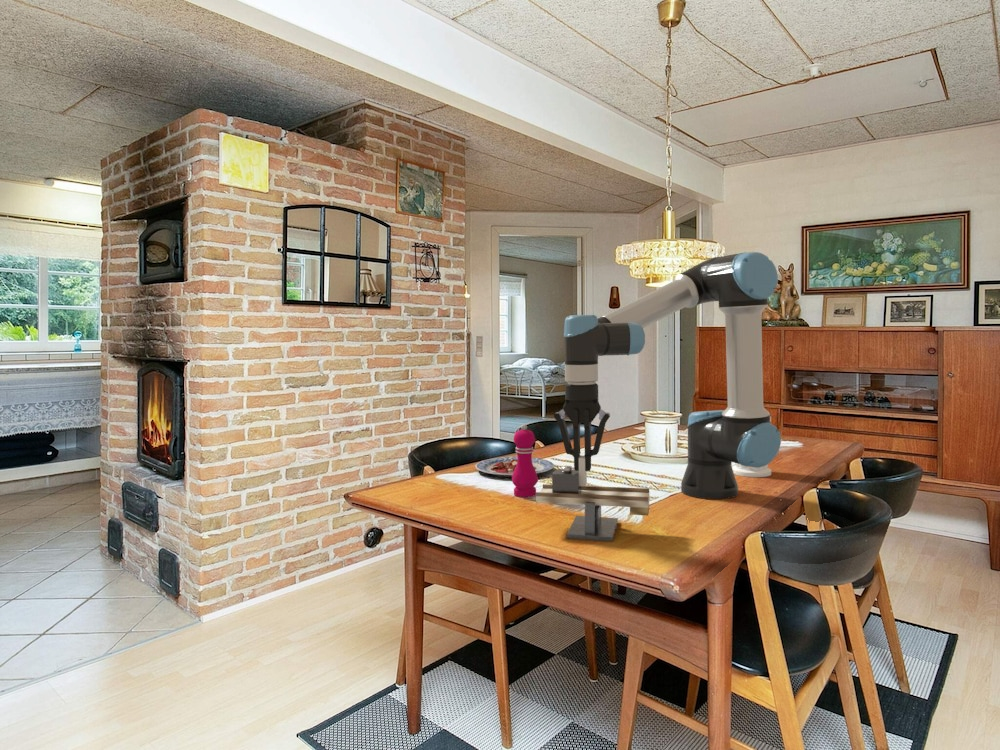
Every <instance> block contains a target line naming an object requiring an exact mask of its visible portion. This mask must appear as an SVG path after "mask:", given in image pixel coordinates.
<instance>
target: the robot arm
mask: <svg viewBox="0 0 1000 750" xmlns="http://www.w3.org/2000/svg"><path fill="white" fill-rule="evenodd" d="M778 283H779V275H778V270H777V267H776V266H775V264H774V262H773V261H772V260H770V259H769V257H768V256H767V255H765V254H764V253H762V252H756V251H751V252H750V251H749V252H746V251H744V252H740V253H735V254H729V255H728V254H727V255H723V256H716V257H711V258H708V259H706V260H704V261H702V262H700V263H698V264H696V265H694V266H692V267H690V268H689V269H687V270H684V271H682V272H681V273H679V274H676V275H675V276H674V278H673V279H672V281H671V282H669V283H667V284H665V285H663V286H661V287H659V288H657V289H655V290H653V291H651V292H649V293H647V294H645V295H643V296H640V297H639V298H637V299H634V300H632V301H631V302H628V303H627V304H624V305H623V306H620V307H618V308H616V309H614V310H613V311H610V312H608V313H606V314H604V315H602V316H600V317H598V316H597V315H595V314H575V315H568V316H566V317H565V320H564V326H563V327H564V328H563V332H564V333H563V339H564V381H565V382H567V383H565V385H564V391H565V392H564V396H565V397H564V400H565V401H564V404H563V406H562V409H560V410H558V411H556V412H555V413H554V414H553V418H554V420H556V422H557V424H558V427H559V430H560V434H561V439H562V443H563V447H564V450H565V453H566V454H567V455H570V456H572V457H573V468H574V469H573V470H575V471H579V486H587V483H588V482H587V480H588V477H587V475H588V474H587V472H590V471H591V469H592V456H597V455H598V454H599V453H600V449H601V445H602V441H603V436H604V431H605V427H606V424H607V421H609V419H610V417H611V414H610V412H606V411H605V410H604V409H601V408H602V407H601V404H600V402H599V384H598V383H597V382H598V381H599V357H604V356H632V355H637V354H639V353H641V352H642V351H643V349H644V347H645V344H646V334H645V331H644V329H645V328H647V327H648V326H651V325H653V324H655V323H657V322H659V321H661V320H662V319H664V318H666V317H668V316H670V315H672V314H674V313H676V312H679V311H680V310H682V309H685V308H687V309H692V308H695V307H696V306H699V305H701V304H705V303H712V302H718V309H719V311H721V312H722V313H723V314H724V315H725V317H724V318H725V319H724V321H725V322H724V323H725V350H726V351H725V355H726V391H727V392H726V393H727V394H726V395H727V397H726V398H727V407H726V408H725V409H724V410H723V409H720V410H718V409H716V410H703V411H702V410H701V411H693V412H691V413H689V415H688V419H687V420H688V421H687V426H686V427H687V465H686V468H685V471H684V475H683V477H682V480H681V482H680V483H681V485H680V486H681V487H680V490H681V492H682V493H683V494H685V495H686V496H689V497H690V496H691V497H693V498H694V497H695V498H700V499H708V500H709V499H710V500H711V499H712V500H713V499H714V500H722V499H723V500H726V499H731V498H734V497H737V496H738V494H739V486H738V481H737V479H736V475H735V474H734V472H733V469H732V467H733V466H732V465H733V464H732V463H734V464H735V463H738V464H741V465H743V466H748V467H749V466H750V467H763V466H766V465H767V464H768V465H769V464H770V463H772V462H773V460H774V459H775V458H776V457H777V455H778V453H779V451H780V449H781V444H782V437H781V432H780V430H779V429H778V427H776V426H775V425H774V424H772V423H771V422H770V417H771V413H770V412H769V410H767V409H766V408H765V407H764V376H763V375H764V374H763V369H764V367H763V332H762V331H763V327H762V325H763V324H762V313H763V311H764V310H766V308H767V307H768V305H769V304H768V301H769V300H768V298H769V297H771V296H772V295H773V294H774V293H775V290H776V289H777V287H778ZM566 416H567V418H568V419H569V420H570V421H571V422H572V434H573V437H572V438H573V440H572V441H573V444H572V443H571V442H572V441H571V438H570V434H569V430H568V425H567V422H566V420H565V419H566ZM597 416H598V419H599V424H598V427H597V432H596V436H595V439H594V443H593V448H592V422H593V421H594V420H595V418H596V417H597ZM581 424H583V429H584V430H583V431H584V435H583V437H584V455H581V453H582V452H581ZM572 445H573V446H572Z"/></svg>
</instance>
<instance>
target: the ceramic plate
mask: <svg viewBox="0 0 1000 750" xmlns="http://www.w3.org/2000/svg"><path fill="white" fill-rule="evenodd" d="M517 458H518V457H517V456H503V457H494V458H489V459H488V458H487V459H483V460H481V461H479V462H477V463H476V464H475V466H474V467H475V469H476V470H477V471H480V472H482V473H485V474H491V475H492V476H497V477H505V478H512V476H513V472H514V470H515V468H516V465H517ZM532 464H533V467H534V469H535V471H536V473H537V475H538V474H541V473H545V472H548V471H551V470H552V469H554V467H555V465H554V463H553V462H552V461H550V460H548V459H544V458H538V457H532Z"/></svg>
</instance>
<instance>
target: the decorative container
mask: <svg viewBox="0 0 1000 750" xmlns="http://www.w3.org/2000/svg"><path fill="white" fill-rule="evenodd" d="M771 422H772V417H771V416H770V423H771ZM732 469H733V472H734V475H735V476H742V477H746V478H748V477H749V478H766V477H770V476H771V475H772V469H771V468H769V464H767V465H766V466H763V467H750V466H749V467H748V466H743V465H741V464H738V463H734V465H733V466H732Z"/></svg>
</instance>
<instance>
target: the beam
mask: <svg viewBox="0 0 1000 750" xmlns="http://www.w3.org/2000/svg"><path fill="white" fill-rule="evenodd" d="M535 501H536V503H538V504H539V503H540V504H557V505H558V504H559V505H581V506H583V505H584V506H585V502H595V505H598V506H601V507H618V508H619V507H622V508H623V507H624V508H629V515H634V516H649V515H650V514H649V513H650V488H647V487H624V486H619V487H618V486H596V485H595V486H594V485H586V486H581V493H580V494H570V493H552V484H547V483H546V484H545V483H542V488H541V490H540V491H536V495H535Z"/></svg>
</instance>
